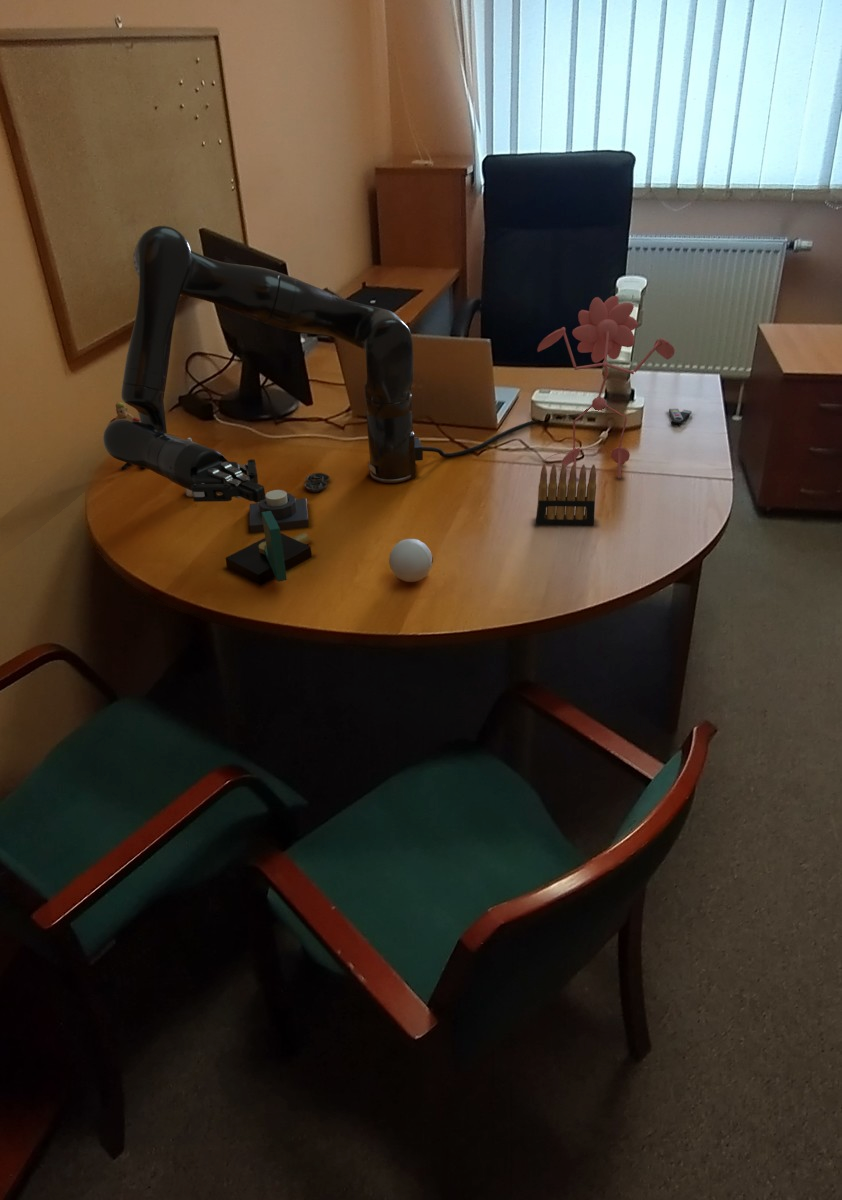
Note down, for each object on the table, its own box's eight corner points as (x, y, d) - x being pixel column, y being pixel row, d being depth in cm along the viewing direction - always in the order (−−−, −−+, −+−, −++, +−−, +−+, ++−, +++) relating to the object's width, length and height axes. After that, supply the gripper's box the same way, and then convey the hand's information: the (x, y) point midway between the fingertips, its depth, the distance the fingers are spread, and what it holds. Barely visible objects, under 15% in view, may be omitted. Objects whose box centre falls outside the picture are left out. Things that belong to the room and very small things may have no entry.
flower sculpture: (661, 479, 172) (687, 303, 152) (535, 483, 172) (544, 308, 153) (644, 448, 185) (665, 282, 165) (526, 452, 185) (534, 287, 165)
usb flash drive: (680, 426, 194) (680, 422, 193) (657, 422, 196) (658, 418, 196) (692, 414, 200) (692, 410, 199) (670, 410, 202) (671, 406, 202)
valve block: (290, 535, 157) (288, 525, 156) (323, 550, 152) (322, 540, 151) (227, 568, 148) (225, 557, 147) (260, 585, 143) (258, 574, 142)
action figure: (110, 470, 184) (93, 404, 175) (116, 463, 187) (100, 398, 178) (153, 470, 183) (138, 404, 175) (158, 463, 186) (143, 398, 178)
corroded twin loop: (302, 494, 171) (302, 489, 171) (307, 477, 178) (306, 472, 177) (327, 493, 171) (327, 488, 170) (330, 476, 178) (330, 471, 177)
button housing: (307, 505, 167) (304, 487, 165) (309, 527, 160) (306, 508, 158) (251, 511, 166) (248, 493, 164) (250, 533, 159) (247, 514, 156)
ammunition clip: (536, 525, 158) (539, 466, 151) (535, 520, 159) (538, 462, 153) (593, 525, 157) (599, 466, 150) (593, 521, 159) (598, 462, 152)
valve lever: (257, 547, 149) (249, 497, 143) (274, 544, 150) (267, 494, 144) (273, 583, 139) (265, 530, 134) (291, 579, 140) (283, 526, 134)
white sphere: (436, 588, 141) (435, 550, 137) (392, 592, 140) (390, 554, 136) (428, 557, 149) (427, 521, 145) (386, 561, 149) (384, 525, 145)
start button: (287, 496, 163) (286, 488, 162) (288, 506, 159) (286, 498, 158) (266, 498, 162) (265, 490, 161) (266, 508, 159) (265, 500, 158)
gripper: (153, 458, 132) (222, 488, 122) (220, 431, 140) (290, 457, 130) (163, 501, 136) (230, 534, 126) (228, 472, 144) (296, 501, 134)
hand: (261, 495), depth 128 cm, fingers closed
